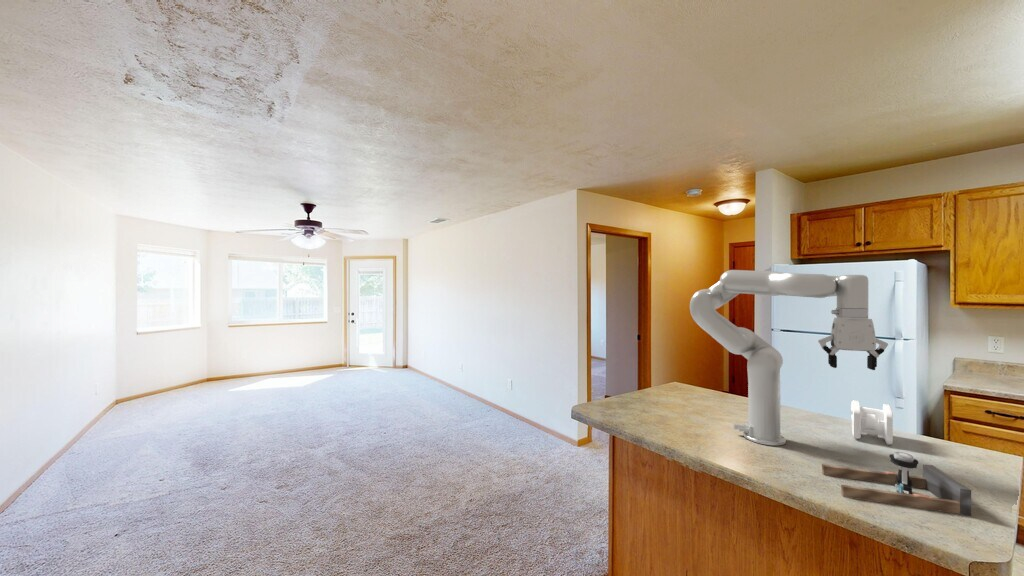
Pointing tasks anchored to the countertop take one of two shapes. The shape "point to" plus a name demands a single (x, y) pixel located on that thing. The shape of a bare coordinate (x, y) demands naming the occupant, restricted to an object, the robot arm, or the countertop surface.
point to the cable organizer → (872, 422)
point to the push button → (903, 470)
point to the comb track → (934, 480)
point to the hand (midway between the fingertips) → (852, 368)
